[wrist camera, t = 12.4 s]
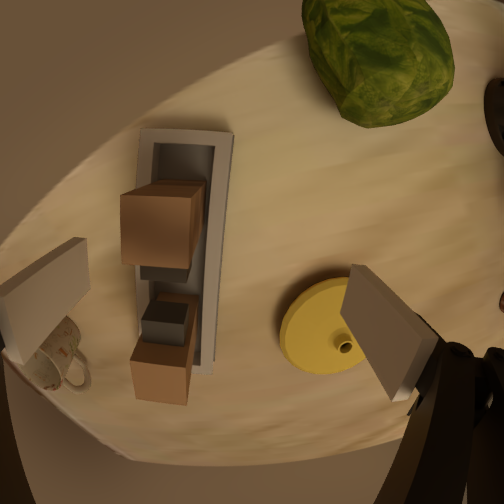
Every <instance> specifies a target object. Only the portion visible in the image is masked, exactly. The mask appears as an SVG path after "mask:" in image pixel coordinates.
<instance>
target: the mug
mask: <svg viewBox="0 0 504 504" xmlns="http://www.w3.org/2000/svg"><path fill="white" fill-rule="evenodd" d="M79 342H80V332H79V329H78V328H77V326H76V325H75V323H74V322H73V321H72V320H70V319H69V318H68V317H66V316H65V317H64V318H63V319H62V321H61V322H60V323H59V324H58V325H57V326H56V327H55V329H54V330H53V331H52V332H51V333H50V334H49V336H48V337H47V338H46V339H45V340H44V341H43V343H42V344H41V345H40V346H39V347H38V349H37V350H36V351H35V352H34V354H33V355H32V356H31V357H30V359H29V360H28V361H27V362H26V364H25V365H21V364H19V363H17V364H18V366H19V368H20V370H21V371H22V372H23V374H24V375H25V376H26V377H27V378H28V379H29V380H30V381H31V382H33V383H34V384H35V385H37V386H39V387H40V388H43V389H46V390H51V391H54V390H57V389H59V388H60V387H61V385H64V386H65V387H66V388H67V389H68V390H69V391H71V392H72V393H75V394H82V393H85V392H87V391H88V390H89V388H90V386H91V376H90V373H89V370H88V368H87V366H86V364H85V363H84V362H83V360H81V359H80V358H79V357H78V356H77V355H76V354H75V352H76V349H77V347H78V345H79ZM73 358H74V359H75V360H76V361H77V362H78V363H79V364H80V365H81V367H82V369H83V371H84V376H85V380H84V383H83V384H82V385H80V386H75V385H73V384H71V383H70V382H69V381H68V380H67V379H66V378H65V376H66V374H67V371H68V369H69V366H70V364H71V361H72V359H73Z"/></svg>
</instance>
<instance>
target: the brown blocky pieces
mask: <svg viewBox="0 0 504 504" xmlns="http://www.w3.org/2000/svg"><path fill="white" fill-rule="evenodd" d="M233 143H234V135H233V133H230V132H218V131H205V130H189V129H165V128H141V130H140V140H139V151H138V164H137V179H136V189H137V188H140V187H142V186H145V185H148V184H150V183H153V182H156V181H158V180H161V179H183V180H202V181H207V188H206V202H205V218H204V226H203V229H202V232H201V234H200V237H199V240H198V243H197V246H196V248H195V251H194V254H193V257H192V267H191V270H190V274H189V277H188V280H187V283H174V282H162V281H150V280H140V265H135V278H136V299H137V314H138V327H139V340H138V342H137V344H136V347H135V349H134V351H133V354H132V356H131V358H130V366H131V373H132V379H133V384H134V390H135V395H136V399H140V400H147V401H153V402H160V403H168V404H176V405H185V406H187V400H188V392H189V385H190V377H191V373H193V374H204V375H212V373H213V362H215V345H216V330H217V316H218V302H219V289H220V276H221V264H222V252H223V241H224V230H225V219H226V209H227V199H228V189H229V179H230V170H231V161H232V152H233Z"/></svg>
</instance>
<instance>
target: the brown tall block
mask: <svg viewBox="0 0 504 504" xmlns="http://www.w3.org/2000/svg"><path fill="white" fill-rule="evenodd" d="M206 188H207V181H202V180H183V179H161V180H158V181H156V182H153V183H150V184H148V185H145V186H142V187H140V188H137V189H135V190H132V191H129V192H127V193H124V194H122V195H120V228H121V256H122V264H129V265H140V280H150V281H162V282H174V283H187V280H188V277H189V274H190V270H191V267H192V257H193V254H194V251H195V248H196V246H197V243H198V240H199V237H200V234H201V232H202V229H203V226H204V218H205V202H206Z"/></svg>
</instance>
